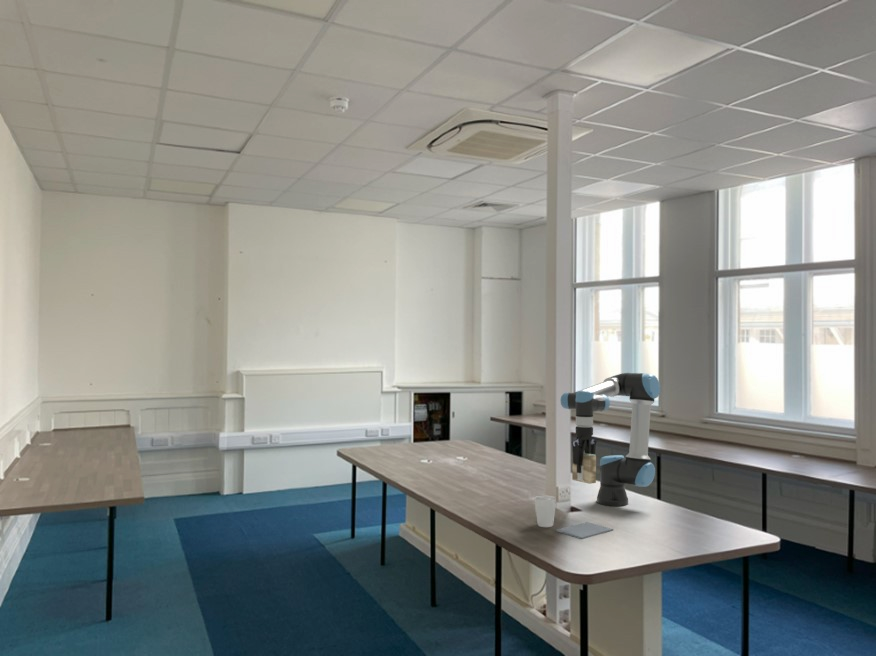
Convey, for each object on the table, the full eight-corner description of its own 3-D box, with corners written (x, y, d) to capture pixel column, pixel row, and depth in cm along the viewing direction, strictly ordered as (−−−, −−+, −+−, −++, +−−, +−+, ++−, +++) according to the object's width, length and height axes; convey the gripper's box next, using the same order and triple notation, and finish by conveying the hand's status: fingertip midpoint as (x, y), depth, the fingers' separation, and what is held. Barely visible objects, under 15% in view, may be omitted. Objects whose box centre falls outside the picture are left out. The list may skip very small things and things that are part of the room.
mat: (587, 523, 291) (587, 521, 291) (613, 530, 280) (613, 528, 280) (556, 531, 279) (555, 529, 279) (581, 538, 268) (581, 537, 268)
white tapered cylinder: (556, 523, 291) (556, 495, 291) (554, 528, 282) (554, 500, 283) (536, 521, 293) (536, 494, 294) (533, 527, 285) (533, 499, 285)
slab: (578, 478, 294) (578, 451, 295) (595, 482, 286) (595, 454, 287) (572, 479, 292) (572, 452, 292) (589, 483, 284) (589, 455, 284)
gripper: (591, 424, 298) (590, 476, 297) (564, 426, 288) (563, 480, 287) (604, 425, 292) (603, 479, 291) (577, 428, 282) (576, 483, 281)
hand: (584, 479), depth 289 cm, fingers closed on slab, 4 cm apart
